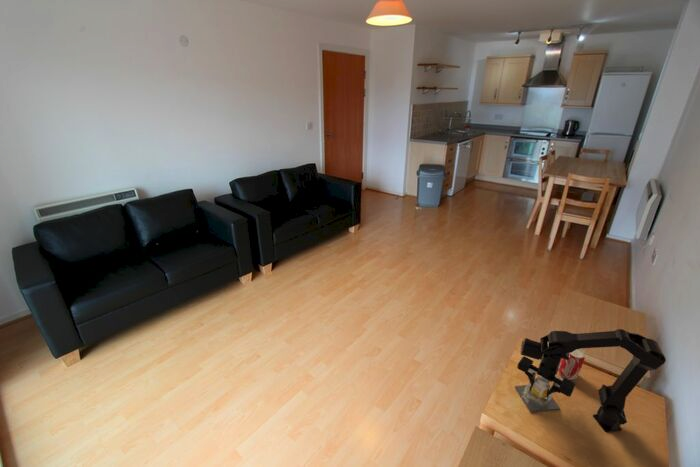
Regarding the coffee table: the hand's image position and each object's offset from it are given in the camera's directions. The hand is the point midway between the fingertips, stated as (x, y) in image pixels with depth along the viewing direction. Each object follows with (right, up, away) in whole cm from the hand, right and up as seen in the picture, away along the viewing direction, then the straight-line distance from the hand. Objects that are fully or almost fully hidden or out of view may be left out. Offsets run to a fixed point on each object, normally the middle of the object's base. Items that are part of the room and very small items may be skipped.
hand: (539, 390), depth 129 cm
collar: (0, -4, +2) cm, 5 cm away
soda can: (+19, +1, +13) cm, 23 cm away
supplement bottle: (0, -3, +2) cm, 3 cm away
